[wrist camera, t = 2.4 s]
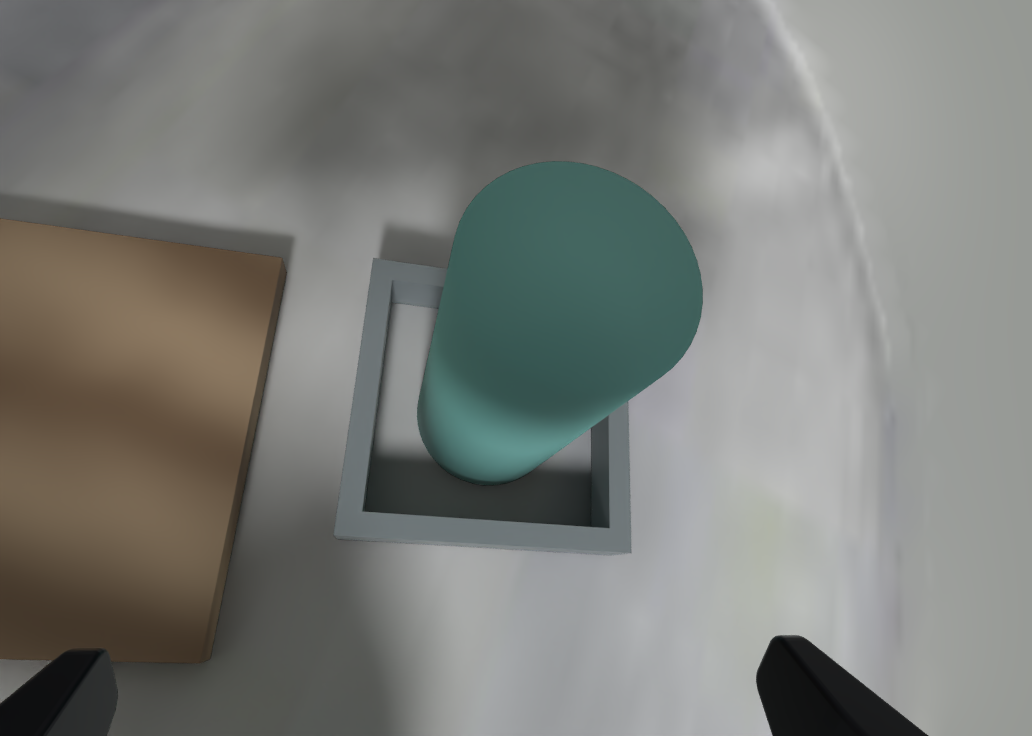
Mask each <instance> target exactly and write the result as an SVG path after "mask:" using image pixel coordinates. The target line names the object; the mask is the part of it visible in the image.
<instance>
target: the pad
mask: <svg viewBox="0 0 1032 736" xmlns="http://www.w3.org/2000/svg"><path fill="white" fill-rule="evenodd" d="M286 273H287V272H286V269H285V265H284V262H283V259H282V258H280V257H273V256H266V255H259V254H252V253H244V252H237V251H230V250H223V249H216V248H209V247H201V246H194V245H187V244H180V243H173V242H166V241H158V240H151V239H144V238H137V237H130V236H123V235H116V234H108V233H101V232H94V231H87V230H80V229H73V228H65V227H58V226H51V225H44V224H37V223H30V222H22V221H15V220H8V219H1V218H0V659H16V660H54V659H55V658H57V657H58V656H59V655H60V654H62V653H63V652H65V651H67V650H69V649H73V648H104V649H106V650H107V651H108V652H109V655H110V658H111V662H155V663H202V662H204V661H206V660H209V659H210V657H211V652H212V647H213V642H214V637H215V632H216V627H217V622H218V617H219V612H220V607H221V602H222V597H223V592H224V587H225V581H226V576H227V571H228V566H229V561H230V556H231V551H232V546H233V541H234V536H235V531H236V526H237V521H238V516H239V511H240V506H241V501H242V496H243V491H244V486H245V480H246V475H247V470H248V465H249V460H250V455H251V450H252V445H253V440H254V435H255V430H256V425H257V420H258V415H259V410H260V405H261V400H262V395H263V390H264V385H265V380H266V374H267V369H268V364H269V359H270V354H271V349H272V344H273V339H274V334H275V329H276V324H277V319H278V314H279V309H280V304H281V299H282V294H283V289H284V284H285V279H286Z"/></svg>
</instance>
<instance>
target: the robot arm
mask: <svg viewBox="0 0 1032 736" xmlns="http://www.w3.org/2000/svg"><path fill="white" fill-rule="evenodd" d="M756 683H757V689H758V692H759V695H760V698H761V702H762V705H763V708H764V711H765V714H766V717H767V720H768V723H769V726H770V729H771V732H772V735H773V736H928V735H927V734H925V733H924V732H923V731H922V730H920V729H919V728H918V727H917V726H915V725H914V724H913V723H912V722H910V721H909V720H908V719H907V718H905V717H904V716H903V715H902V714H900V713H899V712H898V711H897V710H895V709H894V708H893V707H891V706H890V705H889V704H888V703H886V702H885V701H884V700H883V699H881V698H880V697H879V696H878V695H876V694H875V693H874V692H873V691H871V690H870V689H869V688H868V687H866V686H865V685H864V684H863V683H861V682H860V681H859V680H857V679H856V678H855V677H854V676H852V675H851V674H850V673H849V672H847V671H846V670H845V669H844V668H842V667H841V666H840V665H839V664H837V663H836V662H835V661H834V660H832V659H831V658H830V657H829V656H827V655H826V654H825V653H824V652H822V651H821V650H820V649H818V648H817V647H816V646H815V645H813V644H812V643H811V642H810V641H808V640H807V639H805V638H804V637H802V636H798V635H780V636H775V637H774V638H773V639H772V640H771V641H770V643H769V645H768V648H767V650H766V652H765V654H764V657H763V659H762V661H761V663H760V666H759V668H758V670H757V675H756ZM117 699H118V691H117V685H116V681H115V676H114V672H113V667H112V663H111V658H110V655H109V652H108V651H107V650H106V649H104V648H73V649H69V650H67V651H65V652H63V653H62V654H60V655H59V656H58V657H57V658H55V659H54V660H53V661H52V662H51V663H49V664H48V665H47V666H46V667H44V668H43V669H42V670H41V671H40V672H38V673H37V674H36V675H35V676H33V677H32V678H31V679H30V680H29V681H27V682H26V683H25V684H24V685H22V686H21V687H20V688H19V689H18V690H16V691H15V692H14V693H13V694H11V695H10V696H9V697H8V698H7V699H5V700H4V701H3V702H2V703H0V736H107V733H108V731H109V728H110V725H111V722H112V719H113V716H114V713H115V710H116V705H117Z"/></svg>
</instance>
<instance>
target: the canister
mask: <svg viewBox="0 0 1032 736" xmlns="http://www.w3.org/2000/svg"><path fill="white" fill-rule="evenodd" d="M702 304H703V289H702V281H701V274H700V270H699V267H698V263H697V259H696V257H695V254H694V252H693V249H692V247H691V245H690V243H689V241H688V239H687V237H686V235H685V234H684V232H683V230H682V229H681V228H680V226H679V225H678V223H677V222H676V220H675V219H674V218H673V217H672V216H671V214H670V213H669V212H668V211H667V210H666V209H665V207H663V206H662V205H661V204H660V203H659V202H658V201H657V200H656V199H655V198H654V197H653V196H651V195H650V194H649V193H647V192H646V191H645V190H643V189H642V188H641V187H639V186H638V185H636V184H634V183H633V182H631V181H629V180H628V179H626V178H624V177H622V176H619V175H617V174H615V173H613V172H610V171H608V170H605V169H602V168H599V167H595V166H591V165H587V164H583V163H575V162H560V161H552V162H542V163H535V164H531V165H527V166H523V167H520V168H517V169H515V170H512V171H509V172H508V173H506V174H504V175H502V176H500V177H498V178H497V179H495V180H494V181H493V182H491V183H490V184H488V185H487V186H486V187H485V188H484V189H483V190H482V191H481V192H480V193H479V194H478V195H477V196H476V197H475V198H474V199H473V200H472V202H471V203H470V205H469V206H468V207H467V209H466V210H465V212H464V214H463V216H462V218H461V220H460V222H459V225H458V228H457V231H456V234H455V237H454V242H453V247H452V251H451V256H450V260H449V265H448V269H447V274H446V278H445V283H444V287H443V292H442V296H441V301H440V305H439V310H438V314H437V319H436V323H435V328H434V333H433V337H432V342H431V346H430V351H429V355H428V360H427V364H426V369H425V373H424V378H423V382H422V387H421V391H420V396H419V401H418V407H417V420H418V427H419V432H420V435H421V438H422V440H423V443H424V445H425V447H426V449H427V450H428V452H429V453H430V455H431V456H432V457H433V459H434V460H435V461H436V462H437V463H438V464H439V465H440V466H441V467H442V468H443V469H445V470H446V471H447V472H449V473H450V474H452V475H454V476H455V477H457V478H459V479H462V480H464V481H467V482H471V483H474V484H481V485H498V484H504V483H508V482H512V481H514V480H517V479H519V478H521V477H523V476H524V475H526V474H528V473H529V472H531V471H532V470H533V469H535V468H536V467H537V466H539V465H540V464H542V463H543V462H544V461H546V460H547V459H549V458H550V457H551V456H553V455H554V454H555V453H557V452H558V451H560V450H561V449H562V448H564V447H565V446H566V445H568V444H569V443H571V442H572V441H573V440H575V439H576V438H578V437H579V436H580V435H582V434H583V433H584V432H586V431H587V430H589V429H590V428H591V427H593V426H594V425H596V424H597V423H598V422H600V421H601V420H602V419H604V418H605V417H607V416H608V415H609V414H611V413H612V412H613V411H615V410H616V409H618V408H619V407H620V406H622V405H623V404H625V403H626V402H627V401H629V400H630V399H631V398H633V397H634V396H636V395H637V394H638V393H640V392H641V391H643V390H644V389H645V388H647V387H648V386H649V385H651V384H652V383H654V382H655V381H656V380H658V379H659V378H660V377H662V376H663V375H664V374H665V373H667V372H668V371H669V370H671V369H672V368H673V367H674V366H675V365H676V363H677V362H678V361H679V360H680V359H681V358H682V357H683V355H684V354H685V352H686V351H687V349H688V348H689V346H690V345H691V343H692V340H693V338H694V336H695V334H696V332H697V328H698V325H699V322H700V318H701V311H702Z"/></svg>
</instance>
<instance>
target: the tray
mask: <svg viewBox="0 0 1032 736" xmlns="http://www.w3.org/2000/svg"><path fill="white" fill-rule="evenodd" d="M446 274H447V269H445V268H438V267H432V266H425V265H418V264H411V263H404V262H397V261H390V260H383V259H376V258H373V263H372V270H371V277H370V284H369V291H368V298H367V305H366V312H365V319H364V326H363V333H362V340H361V347H360V354H359V361H358V368H357V375H356V382H355V388H354V395H353V402H352V409H351V416H350V423H349V430H348V437H347V444H346V451H345V458H344V465H343V472H342V479H341V486H340V493H339V500H338V507H337V514H336V521H335V528H334V536H335V537H336V538H337V539H343V540H360V541H377V542H394V543H411V544H428V545H445V546H461V547H478V548H495V549H512V550H529V551H546V552H563V553H580V554H597V555H619V554H627V553H631V511H630V463H629V415H628V401H627V402H626V403H625V404H623V405H622V406H620V407H619V408H618V409H616V410H615V411H613V412H612V413H611V414H609V415H608V416H607V417H605V418H604V419H602V420H601V421H600V422H598V423H597V424H596V425H594V426H593V427H591V527H584V526H569V525H554V524H539V523H524V522H510V521H495V520H480V519H465V518H451V517H436V516H421V515H406V514H392V513H377V512H364V510H365V502H366V494H367V486H368V479H369V471H370V463H371V455H372V447H373V440H374V432H375V424H376V416H377V408H378V401H379V393H380V385H381V377H382V369H383V362H384V354H385V346H386V338H387V330H388V323H389V315H390V307H391V302H392V303H400V304H408V305H415V306H423V307H430V308H438V309H439V305H440V301H441V296H442V292H443V287H444V283H445V278H446Z"/></svg>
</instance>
